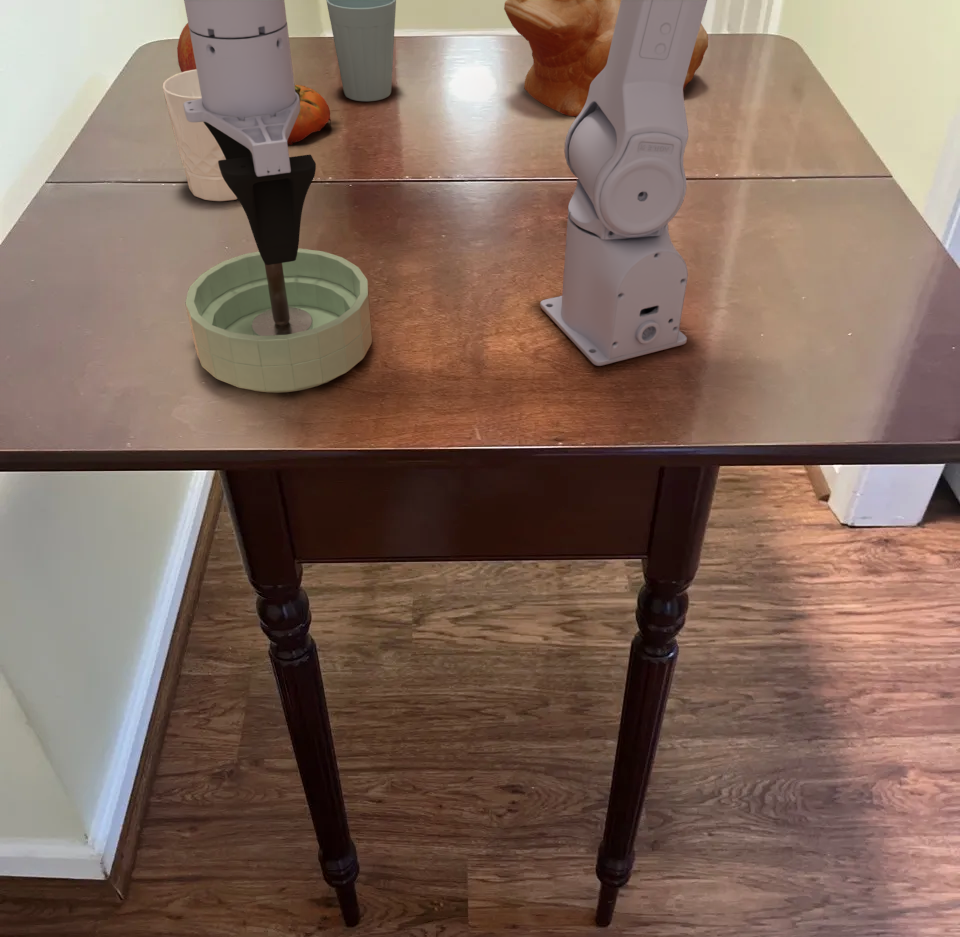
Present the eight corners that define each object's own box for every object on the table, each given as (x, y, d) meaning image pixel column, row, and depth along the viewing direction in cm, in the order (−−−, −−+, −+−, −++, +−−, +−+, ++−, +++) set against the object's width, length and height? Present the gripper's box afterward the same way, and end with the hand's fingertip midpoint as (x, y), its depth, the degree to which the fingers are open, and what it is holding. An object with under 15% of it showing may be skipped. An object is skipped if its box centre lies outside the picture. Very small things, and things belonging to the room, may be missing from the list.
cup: (413, 96, 112) (408, 0, 105) (355, 110, 109) (347, 12, 102) (380, 78, 117) (374, -15, 110) (324, 90, 114) (314, -5, 107)
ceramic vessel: (478, 89, 114) (478, -51, 104) (659, 58, 123) (675, -74, 113) (536, 129, 105) (542, -20, 95) (727, 91, 114) (751, -48, 104)
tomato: (249, 134, 99) (255, 65, 99) (254, 157, 106) (260, 92, 106) (327, 145, 100) (333, 76, 100) (327, 167, 107) (333, 102, 107)
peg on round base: (324, 331, 72) (311, 218, 66) (297, 362, 69) (280, 246, 63) (273, 320, 73) (255, 208, 67) (243, 350, 70) (222, 235, 64)
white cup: (185, 209, 89) (163, 100, 83) (182, 174, 95) (161, 71, 89) (270, 199, 91) (255, 93, 85) (262, 166, 97) (247, 64, 90)
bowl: (396, 375, 69) (393, 315, 66) (219, 418, 65) (206, 357, 62) (342, 292, 78) (337, 235, 75) (184, 325, 74) (171, 267, 71)
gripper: (158, -3, 61) (197, 198, 70) (182, 70, 51) (225, 296, 59) (268, -12, 63) (293, 185, 72) (314, 57, 52) (337, 277, 61)
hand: (269, 234), depth 66 cm, fingers open, 7 cm apart
